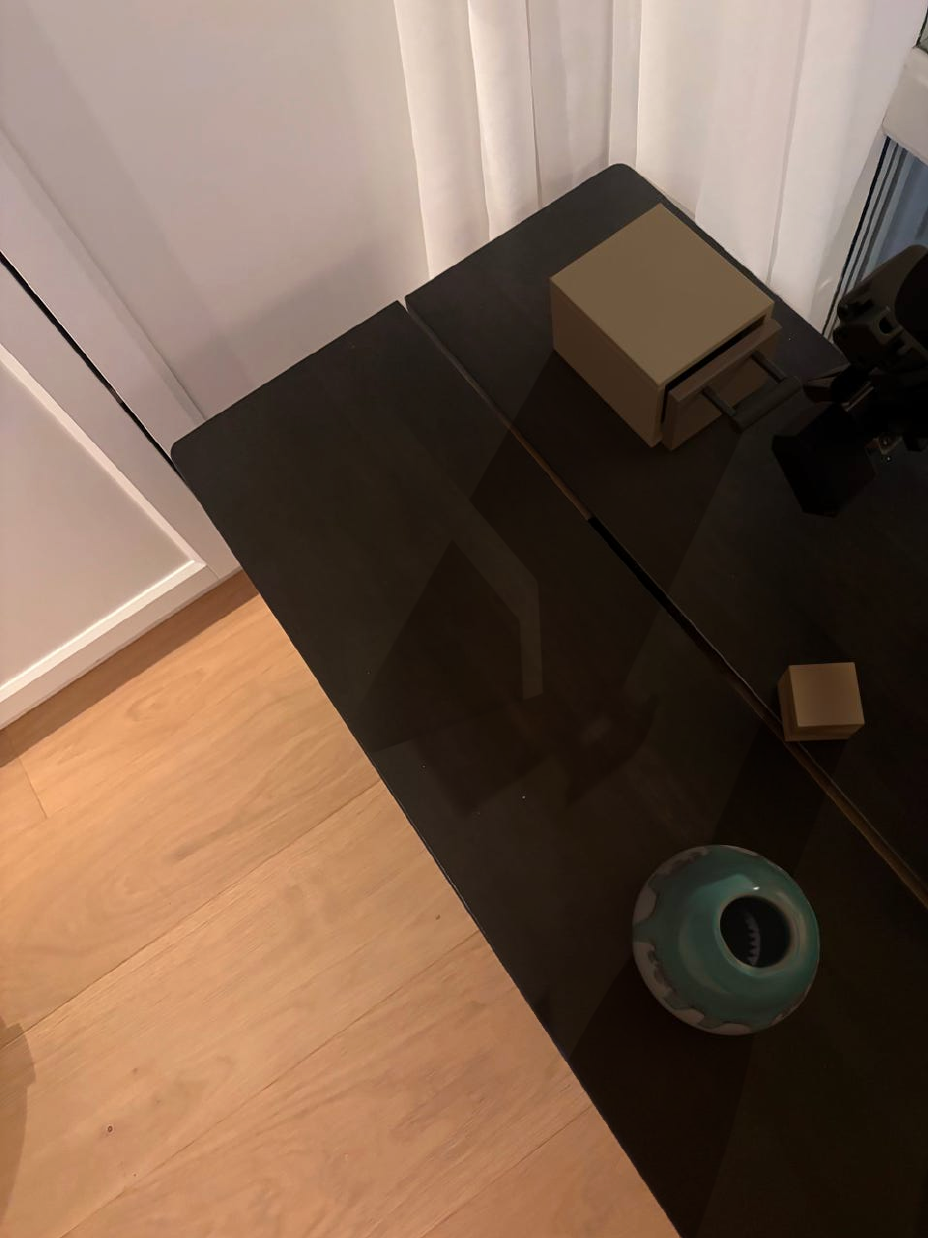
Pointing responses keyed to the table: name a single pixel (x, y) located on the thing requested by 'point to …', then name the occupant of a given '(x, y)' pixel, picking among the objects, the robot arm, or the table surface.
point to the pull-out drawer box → (726, 386)
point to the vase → (725, 939)
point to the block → (820, 702)
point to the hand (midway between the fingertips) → (807, 388)
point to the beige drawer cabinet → (648, 313)
